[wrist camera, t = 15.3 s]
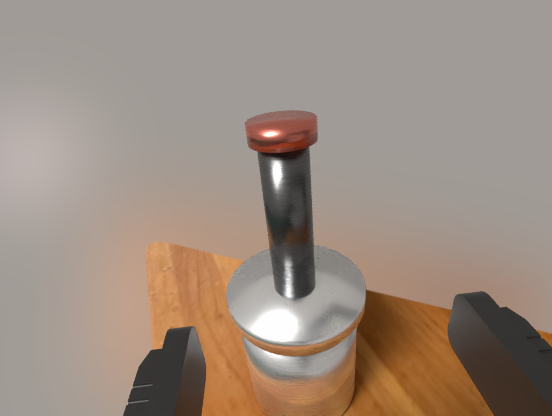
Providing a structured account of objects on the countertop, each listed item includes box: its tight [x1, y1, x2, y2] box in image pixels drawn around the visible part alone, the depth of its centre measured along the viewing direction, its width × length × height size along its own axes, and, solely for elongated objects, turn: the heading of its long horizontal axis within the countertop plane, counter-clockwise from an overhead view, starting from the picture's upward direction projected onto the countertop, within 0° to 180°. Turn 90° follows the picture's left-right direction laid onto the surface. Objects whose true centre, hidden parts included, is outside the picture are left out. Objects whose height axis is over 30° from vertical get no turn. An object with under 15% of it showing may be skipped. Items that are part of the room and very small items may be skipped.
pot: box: [242, 328, 357, 416], centre depth 27 cm, size 9×9×10 cm
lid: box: [227, 111, 366, 355], centre depth 22 cm, size 10×10×13 cm
